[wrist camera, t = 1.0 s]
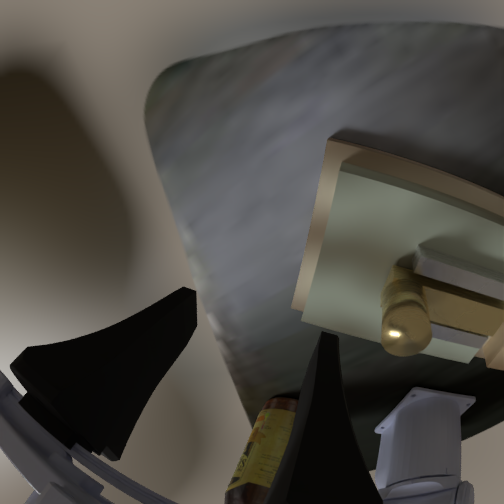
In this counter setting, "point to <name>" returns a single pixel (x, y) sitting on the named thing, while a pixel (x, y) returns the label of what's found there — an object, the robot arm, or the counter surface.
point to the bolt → (431, 310)
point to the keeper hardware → (462, 276)
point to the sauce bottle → (262, 452)
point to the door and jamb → (391, 239)
